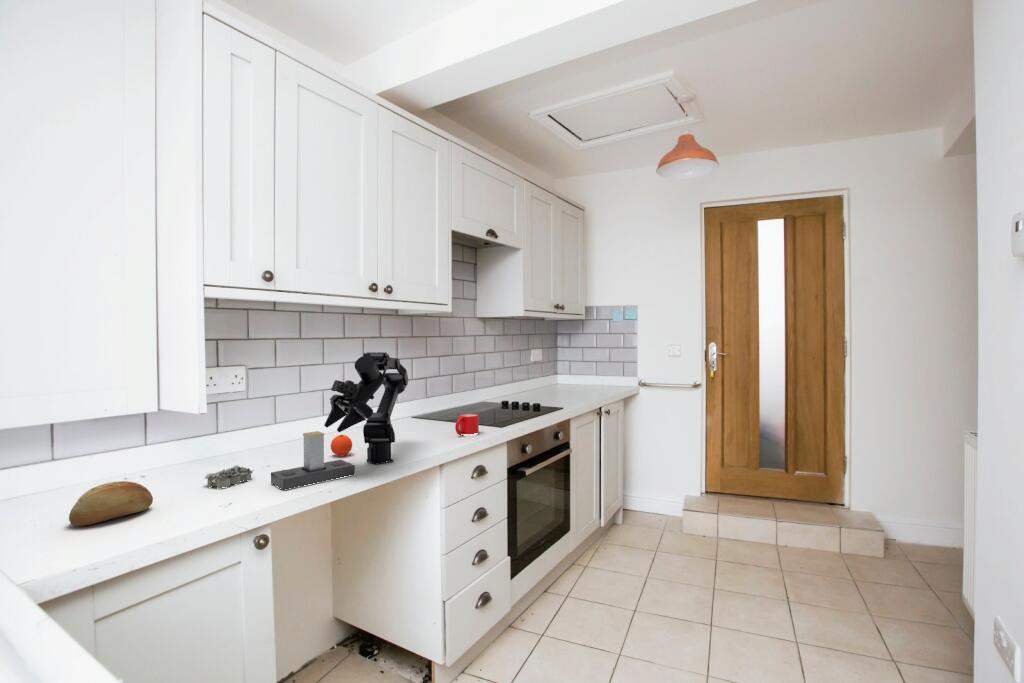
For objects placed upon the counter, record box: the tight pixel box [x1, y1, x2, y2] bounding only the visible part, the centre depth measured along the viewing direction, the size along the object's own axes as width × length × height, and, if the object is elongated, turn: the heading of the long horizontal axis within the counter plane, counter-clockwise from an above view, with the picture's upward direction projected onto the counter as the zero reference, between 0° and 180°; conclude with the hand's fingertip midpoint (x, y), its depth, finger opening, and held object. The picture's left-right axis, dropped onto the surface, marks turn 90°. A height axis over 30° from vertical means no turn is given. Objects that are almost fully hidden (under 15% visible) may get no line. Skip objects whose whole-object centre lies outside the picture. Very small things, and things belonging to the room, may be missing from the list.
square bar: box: [302, 430, 325, 473], centre depth 140 cm, size 4×4×13 cm
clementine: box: [330, 434, 353, 457], centre depth 168 cm, size 8×7×7 cm
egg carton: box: [204, 465, 255, 489], centre depth 137 cm, size 11×8×4 cm
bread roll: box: [68, 480, 154, 527], centre depth 111 cm, size 10×15×8 cm, turn 145°
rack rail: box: [270, 459, 356, 491], centre depth 140 cm, size 20×9×3 cm, turn 134°
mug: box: [454, 413, 480, 436], centre depth 201 cm, size 8×12×8 cm, turn 148°
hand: (331, 428), depth 144 cm, fingers open, 9 cm apart
